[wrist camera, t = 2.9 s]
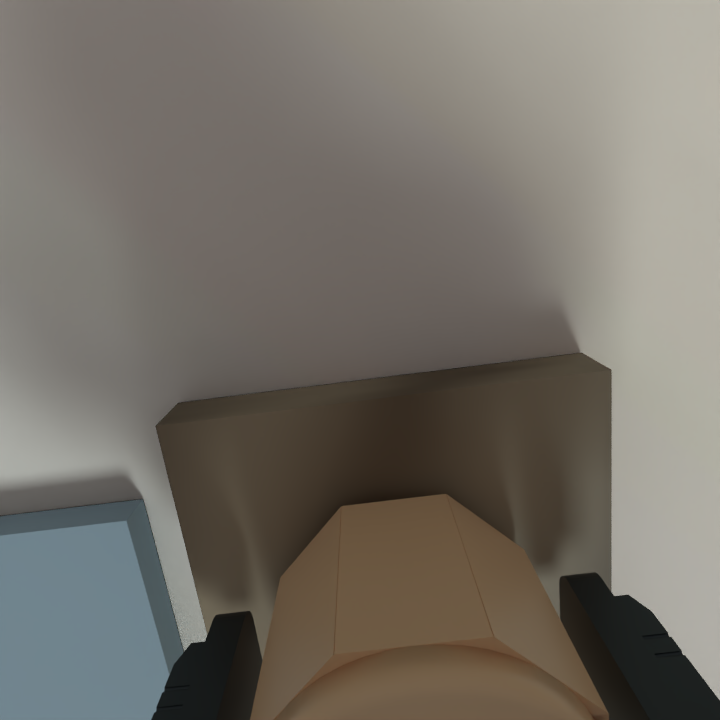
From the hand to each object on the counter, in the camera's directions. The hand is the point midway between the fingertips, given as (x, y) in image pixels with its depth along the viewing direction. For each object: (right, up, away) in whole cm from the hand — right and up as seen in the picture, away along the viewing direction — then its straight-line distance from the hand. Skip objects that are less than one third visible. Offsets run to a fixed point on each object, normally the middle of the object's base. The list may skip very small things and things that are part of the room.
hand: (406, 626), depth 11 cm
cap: (0, 0, +1) cm, 1 cm away
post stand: (0, +1, +3) cm, 3 cm away
